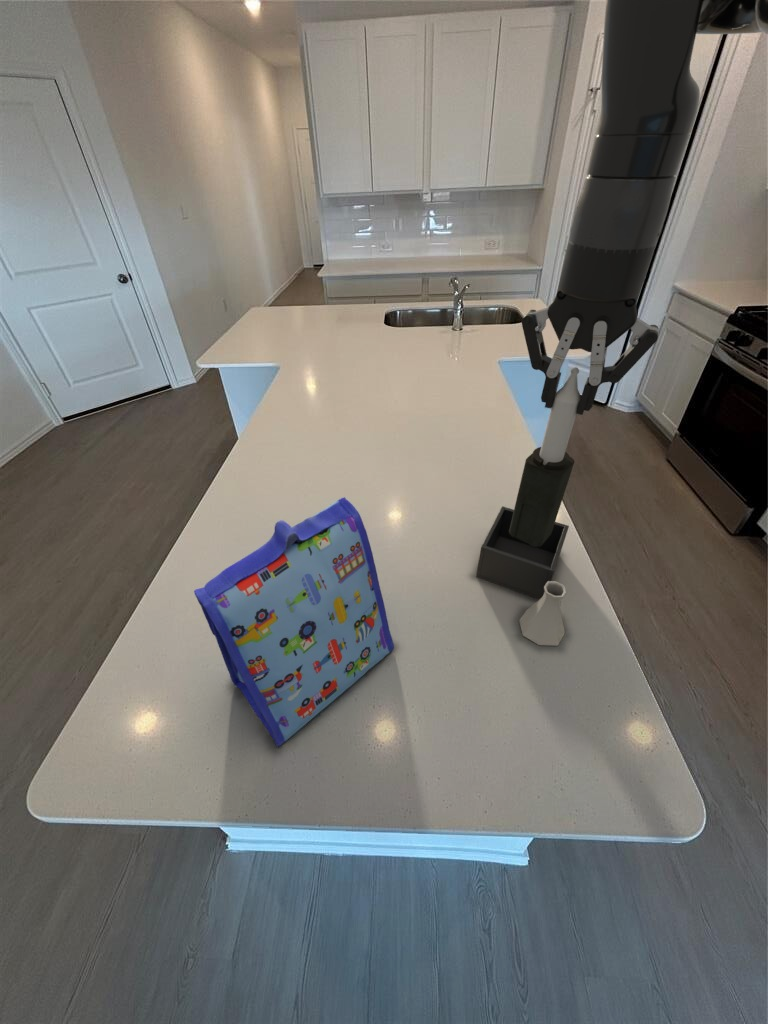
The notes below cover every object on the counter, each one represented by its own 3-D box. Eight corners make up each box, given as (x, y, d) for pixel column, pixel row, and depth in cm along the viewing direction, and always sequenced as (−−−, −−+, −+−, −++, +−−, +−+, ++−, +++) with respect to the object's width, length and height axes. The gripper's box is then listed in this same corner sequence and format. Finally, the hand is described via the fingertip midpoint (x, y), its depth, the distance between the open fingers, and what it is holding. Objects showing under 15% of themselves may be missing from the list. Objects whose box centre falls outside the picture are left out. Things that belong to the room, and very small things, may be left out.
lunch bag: (342, 602, 77) (324, 467, 59) (396, 652, 70) (395, 515, 51) (231, 683, 66) (164, 549, 48) (280, 753, 59) (224, 625, 40)
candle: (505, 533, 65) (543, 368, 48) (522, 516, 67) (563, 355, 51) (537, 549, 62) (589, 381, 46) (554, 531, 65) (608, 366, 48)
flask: (565, 617, 74) (581, 577, 67) (562, 653, 69) (579, 614, 62) (521, 605, 76) (533, 566, 70) (515, 639, 71) (527, 600, 64)
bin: (558, 555, 85) (569, 525, 80) (544, 601, 76) (554, 571, 71) (496, 535, 89) (502, 506, 84) (475, 576, 81) (481, 547, 76)
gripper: (525, 239, 40) (497, 410, 52) (700, 251, 35) (626, 437, 47) (543, 226, 45) (513, 385, 57) (698, 235, 40) (632, 407, 52)
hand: (565, 407), depth 52 cm, fingers closed on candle, 3 cm apart
